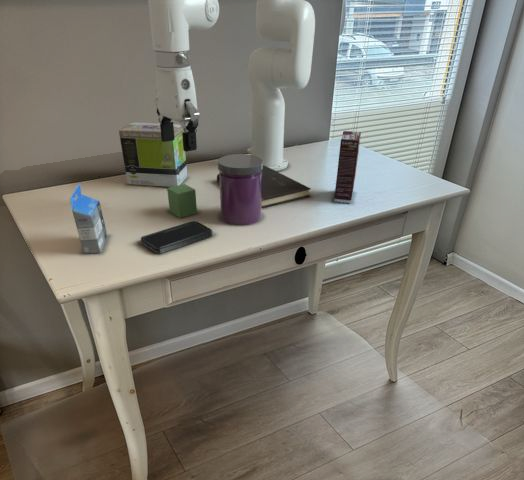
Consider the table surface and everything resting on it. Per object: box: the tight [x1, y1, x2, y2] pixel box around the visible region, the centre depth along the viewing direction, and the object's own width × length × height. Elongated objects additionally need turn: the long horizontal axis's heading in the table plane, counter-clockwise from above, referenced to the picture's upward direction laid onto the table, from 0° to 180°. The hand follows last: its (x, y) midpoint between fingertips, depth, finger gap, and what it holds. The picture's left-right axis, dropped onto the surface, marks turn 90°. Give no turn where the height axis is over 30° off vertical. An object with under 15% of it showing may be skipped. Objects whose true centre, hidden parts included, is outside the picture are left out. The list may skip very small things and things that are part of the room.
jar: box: [217, 153, 263, 226], centre depth 118 cm, size 10×10×14 cm
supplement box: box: [333, 130, 362, 204], centre depth 129 cm, size 9×5×16 cm, turn 168°
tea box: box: [118, 121, 188, 188], centre depth 137 cm, size 15×10×15 cm, turn 80°
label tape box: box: [69, 182, 108, 254], centre depth 106 cm, size 9×4×12 cm, turn 5°
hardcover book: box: [216, 165, 311, 209], centre depth 137 cm, size 16×23×2 cm
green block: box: [166, 183, 198, 219], centre depth 122 cm, size 5×5×6 cm
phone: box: [140, 220, 213, 254], centre depth 112 cm, size 8×1×15 cm
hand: (178, 145), depth 114 cm, fingers open, 9 cm apart
